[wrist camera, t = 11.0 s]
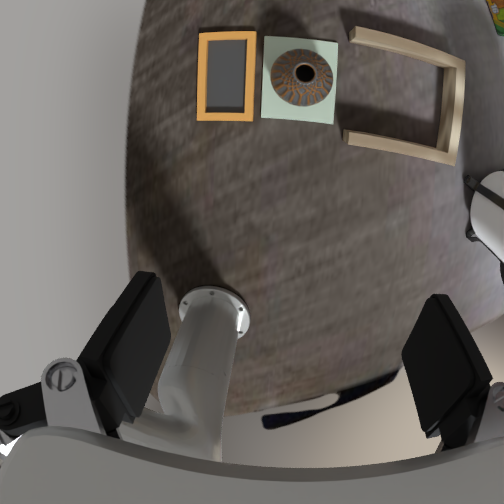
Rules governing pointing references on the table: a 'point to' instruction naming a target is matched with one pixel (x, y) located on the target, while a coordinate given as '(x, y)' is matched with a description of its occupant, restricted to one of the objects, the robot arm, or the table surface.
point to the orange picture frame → (226, 76)
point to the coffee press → (488, 213)
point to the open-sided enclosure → (450, 98)
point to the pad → (277, 106)
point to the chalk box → (497, 14)
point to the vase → (301, 77)
